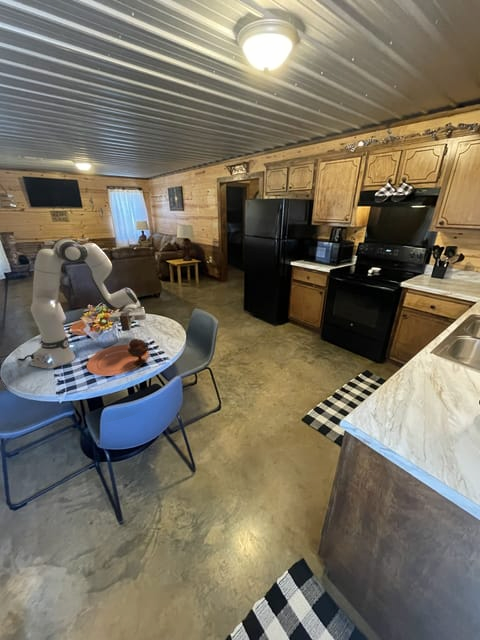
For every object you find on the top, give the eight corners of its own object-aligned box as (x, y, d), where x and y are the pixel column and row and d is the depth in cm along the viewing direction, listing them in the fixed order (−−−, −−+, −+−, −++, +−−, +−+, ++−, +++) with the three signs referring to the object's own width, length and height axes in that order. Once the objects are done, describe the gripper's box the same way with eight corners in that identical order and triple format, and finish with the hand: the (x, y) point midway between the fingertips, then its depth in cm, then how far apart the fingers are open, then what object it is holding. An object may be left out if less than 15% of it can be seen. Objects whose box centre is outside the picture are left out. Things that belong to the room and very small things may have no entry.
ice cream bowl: (144, 368, 145) (140, 344, 139) (126, 365, 147) (121, 342, 141) (154, 358, 155) (150, 335, 149) (136, 356, 157) (132, 333, 151)
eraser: (122, 331, 149) (119, 316, 146) (124, 327, 154) (121, 312, 151) (129, 330, 150) (126, 315, 146) (131, 326, 155) (128, 312, 151)
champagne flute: (57, 337, 181) (47, 304, 171) (67, 333, 186) (58, 301, 177) (62, 339, 178) (52, 305, 168) (72, 335, 183) (63, 302, 174)
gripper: (111, 309, 159) (104, 317, 147) (146, 306, 162) (142, 315, 150) (113, 318, 162) (107, 327, 149) (147, 316, 165) (144, 325, 152)
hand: (125, 321), depth 149 cm, fingers closed on eraser, 4 cm apart
